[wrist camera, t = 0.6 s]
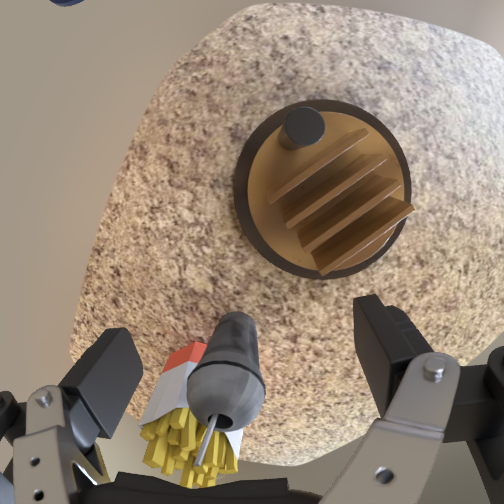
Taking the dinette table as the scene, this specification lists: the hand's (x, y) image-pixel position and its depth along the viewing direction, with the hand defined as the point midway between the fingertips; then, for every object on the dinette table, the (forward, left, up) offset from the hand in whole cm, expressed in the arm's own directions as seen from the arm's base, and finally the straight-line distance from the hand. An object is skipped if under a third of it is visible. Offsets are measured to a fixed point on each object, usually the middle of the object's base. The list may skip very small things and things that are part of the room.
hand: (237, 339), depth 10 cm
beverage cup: (+13, -6, -24) cm, 28 cm away
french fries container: (+18, -11, -24) cm, 32 cm away
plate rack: (0, +8, -22) cm, 23 cm away
